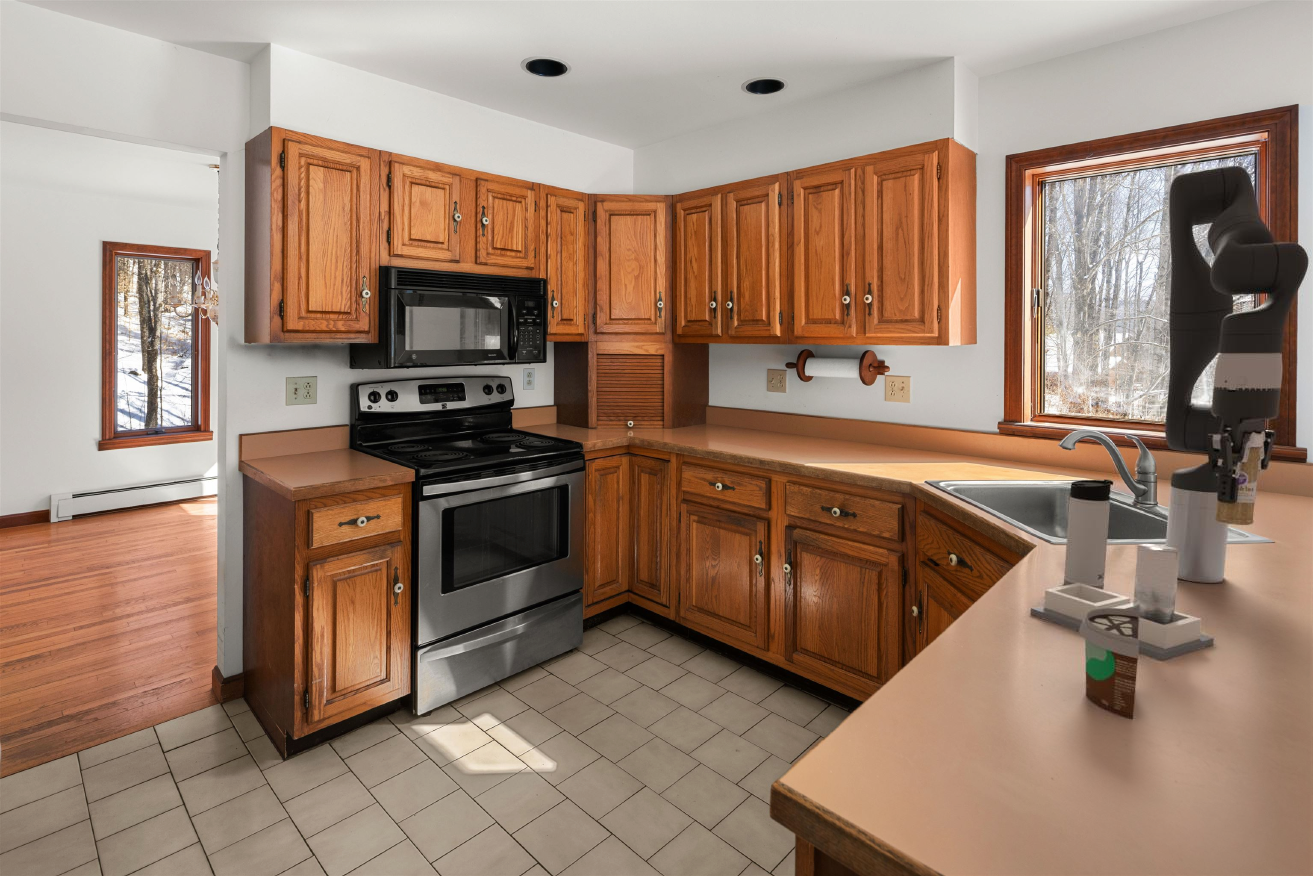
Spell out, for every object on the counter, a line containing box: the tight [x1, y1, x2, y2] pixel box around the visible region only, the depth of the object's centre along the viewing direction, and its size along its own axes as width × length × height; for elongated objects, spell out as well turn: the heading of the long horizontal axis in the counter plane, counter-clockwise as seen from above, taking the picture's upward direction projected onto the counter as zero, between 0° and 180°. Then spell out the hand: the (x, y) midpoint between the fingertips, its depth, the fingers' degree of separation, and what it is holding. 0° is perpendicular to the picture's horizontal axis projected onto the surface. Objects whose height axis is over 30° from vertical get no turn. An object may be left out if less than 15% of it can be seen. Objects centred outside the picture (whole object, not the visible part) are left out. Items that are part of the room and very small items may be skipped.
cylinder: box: [1132, 543, 1179, 625], centre depth 104 cm, size 5×5×13 cm
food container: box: [1078, 608, 1140, 720], centre depth 87 cm, size 12×6×10 cm, turn 145°
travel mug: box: [1063, 479, 1114, 590], centre depth 129 cm, size 6×7×20 cm
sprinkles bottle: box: [1215, 433, 1263, 526], centre depth 104 cm, size 5×5×14 cm
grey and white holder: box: [1030, 583, 1215, 662], centre depth 110 cm, size 13×20×4 cm, turn 26°
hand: (1235, 500), depth 104 cm, fingers closed on sprinkles bottle, 4 cm apart
